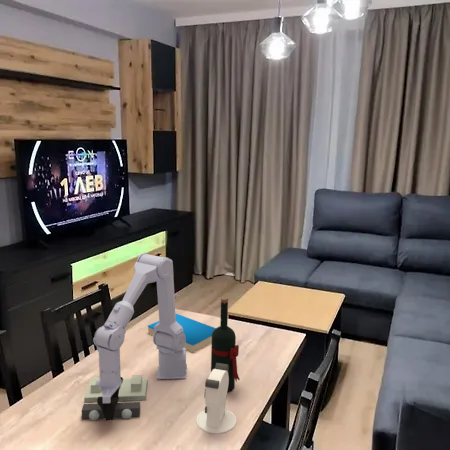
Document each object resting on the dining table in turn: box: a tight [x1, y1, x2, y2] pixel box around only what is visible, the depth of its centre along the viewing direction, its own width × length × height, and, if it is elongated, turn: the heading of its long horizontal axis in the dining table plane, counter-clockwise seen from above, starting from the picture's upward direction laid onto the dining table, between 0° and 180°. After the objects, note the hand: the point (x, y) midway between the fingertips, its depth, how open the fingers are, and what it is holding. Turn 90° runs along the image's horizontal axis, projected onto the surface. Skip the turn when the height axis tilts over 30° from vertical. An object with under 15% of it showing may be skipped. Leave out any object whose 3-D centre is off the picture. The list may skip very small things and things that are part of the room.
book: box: [147, 313, 217, 354], centre depth 179 cm, size 17×4×25 cm
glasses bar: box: [81, 401, 141, 421], centre depth 128 cm, size 16×4×3 cm, turn 96°
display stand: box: [83, 374, 148, 403], centre depth 139 cm, size 18×10×4 cm, turn 96°
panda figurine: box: [195, 363, 237, 435], centre depth 126 cm, size 12×11×15 cm
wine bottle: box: [210, 297, 240, 394], centre depth 140 cm, size 8×10×30 cm
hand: (111, 411), depth 128 cm, fingers open, 7 cm apart
